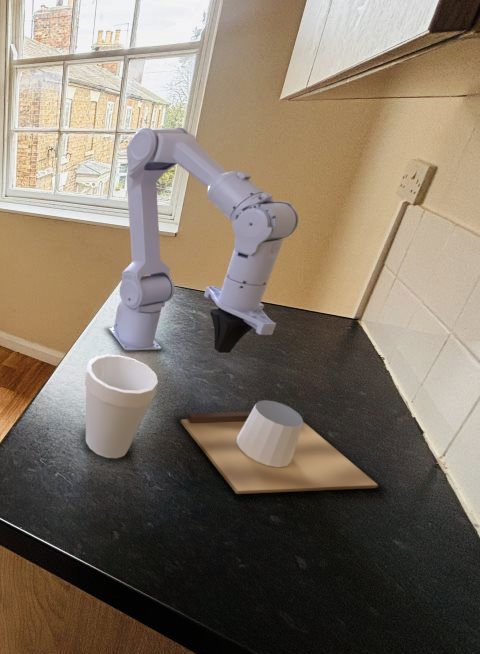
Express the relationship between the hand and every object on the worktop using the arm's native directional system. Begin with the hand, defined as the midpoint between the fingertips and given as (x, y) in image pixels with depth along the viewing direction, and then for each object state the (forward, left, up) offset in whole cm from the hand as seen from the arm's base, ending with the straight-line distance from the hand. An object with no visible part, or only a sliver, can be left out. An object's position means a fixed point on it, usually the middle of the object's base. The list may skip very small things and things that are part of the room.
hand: (222, 350), depth 71 cm
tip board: (+15, 0, -9) cm, 17 cm away
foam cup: (+12, -24, -9) cm, 28 cm away
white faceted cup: (+15, -1, -1) cm, 15 cm away
